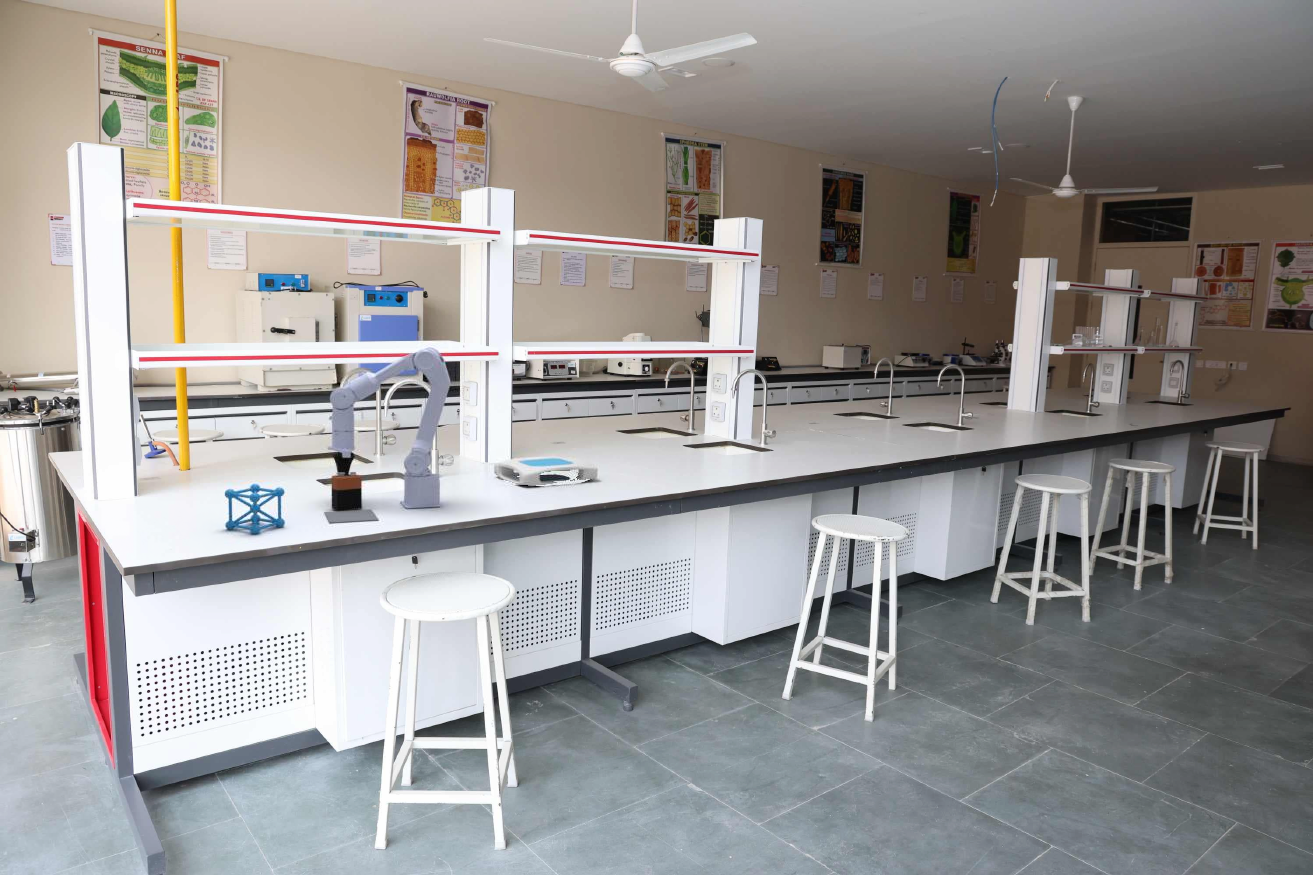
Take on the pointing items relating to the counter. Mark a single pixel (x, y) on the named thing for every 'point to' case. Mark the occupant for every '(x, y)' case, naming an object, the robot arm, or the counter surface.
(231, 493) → the molecular structure
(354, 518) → the mat
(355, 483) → the battery
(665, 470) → the counter surface
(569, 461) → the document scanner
